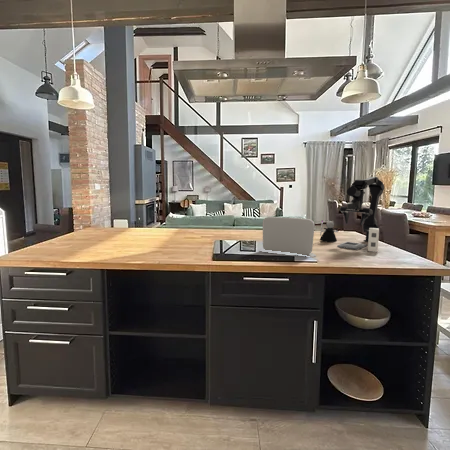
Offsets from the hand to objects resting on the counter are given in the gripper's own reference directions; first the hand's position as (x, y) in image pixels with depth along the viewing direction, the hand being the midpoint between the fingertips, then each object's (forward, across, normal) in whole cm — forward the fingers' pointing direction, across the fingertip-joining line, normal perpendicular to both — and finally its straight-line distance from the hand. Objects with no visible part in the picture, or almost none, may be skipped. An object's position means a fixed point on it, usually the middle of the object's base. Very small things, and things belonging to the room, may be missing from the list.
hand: (353, 224), depth 201 cm
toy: (+13, -18, +6) cm, 23 cm away
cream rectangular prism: (+14, +14, 0) cm, 20 cm away
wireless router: (+25, -14, -44) cm, 53 cm away
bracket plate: (+14, +1, +2) cm, 14 cm away
